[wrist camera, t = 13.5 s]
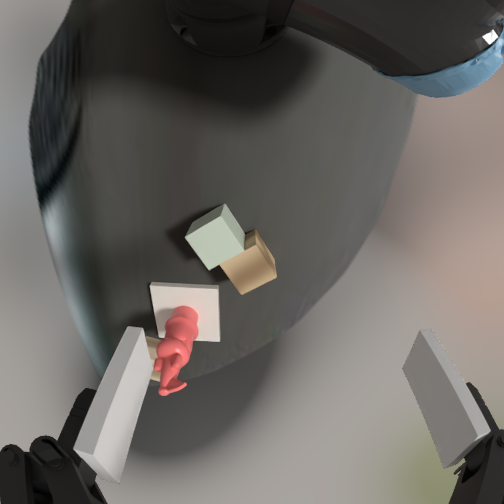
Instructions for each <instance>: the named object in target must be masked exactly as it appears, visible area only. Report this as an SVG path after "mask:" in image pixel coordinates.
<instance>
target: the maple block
mask: <svg viewBox="0 0 504 504" xmlns="http://www.w3.org/2000/svg"><path fill="white" fill-rule="evenodd" d="M145 339H146V343H147V347H148V351H149V355H150V359H151V362H152V366H153V371H152V374H151V377H150V379H153V380H157V381H160V375H161V372H157V371H155V370H154V361H155V359H156V358H158V356H157V353H156V347H157V345H158V343H159V342H160V341H162V340H158V339H155V338H151V337H148V336H146V337H145Z"/></svg>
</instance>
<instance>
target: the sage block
mask: <svg viewBox="0 0 504 504" xmlns="http://www.w3.org/2000/svg"><path fill="white" fill-rule="evenodd" d="M185 238H186V240H187V241H188V242H189V244H190V245H191V247H192V248H193V249H194V251H195V252H196V253H197V255H198V256H199V257H200V259H201V260H202V262H203V263H204V264H205V266H206V267H207V268H208V270H210V269H212V268H214V267H216V266H217V265H219V264H221V263H223V262H225V261H227V260H228V259H230V258H232V257H234V256H236V255H238V254H240V253H241V252H243V251H244V249H245V233H244V232H243V230H242V229H241V227H240V226H239V224H238V223H237V221H236V219H235V218H234V216H233V215H232V213H231V212H230V210H229V209H228V207H227V206H226V204H225V203H224V204H222V205H220V206H219V207H217V208H215V209H214V210H212V211H210V212H209V213H207V214H205V215H204V216H202V217H200V218H199V219H197V220H196V221H194V222H192V224H191V226H190V228H189V230H188V232H187V234H186V236H185Z"/></svg>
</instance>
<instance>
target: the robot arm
mask: <svg viewBox="0 0 504 504" xmlns="http://www.w3.org/2000/svg"><path fill="white" fill-rule="evenodd" d="M165 10H166V16H167V19H168V22H169V24H170V26H171V28H172V29H173V31H174V32H175V33H176V34H177V35H178V36H179V37H180V38H181V39H182V40H183V41H184V42H185V43H186V44H187V45H189V46H190V47H192V48H194V49H196V50H198V51H200V52H203V53H206V54H209V55H214V56H222V57H235V56H243V55H248V54H251V53H254V52H257V51H260V50H262V49H264V48H266V47H268V46H270V45H271V44H273V43H274V42H275V41H277V40H278V39H279V38H280V37H281V36H282V35H283V34H284V33H285V32H286V30H287V29H288V27H291V28H294V29H296V30H299V31H301V32H303V33H306V34H308V35H310V36H313V37H315V38H317V39H319V40H322V41H324V42H326V43H328V44H330V45H332V46H334V47H336V48H338V49H340V50H342V51H344V52H346V53H348V54H350V55H352V56H354V57H355V58H357V59H359V60H361V61H363V62H364V63H366V64H368V65H370V66H371V67H372V69H373V70H374V71H376V72H377V73H379V74H380V75H382V76H384V77H386V78H390V79H393V80H395V81H397V82H399V83H400V84H402V85H404V86H405V87H407V88H408V89H410V90H412V91H413V92H415V93H418V94H422V95H425V96H429V97H435V98H439V97H451V96H455V95H459V94H462V93H464V92H467V91H469V90H471V89H473V88H475V87H477V86H479V85H480V84H482V83H483V82H485V81H486V80H487V79H488V78H490V77H491V76H492V75H493V74H494V73H495V72H496V71H497V70H498V69H499V67H500V66H501V65H502V63H503V62H504V61H503V58H502V56H501V55H502V54H504V0H166V2H165ZM402 369H403V371H404V373H405V375H406V378H407V380H408V382H409V384H410V386H411V389H412V391H413V393H414V395H415V397H416V400H417V402H418V405H419V407H420V409H421V411H422V414H423V416H424V419H425V421H426V424H427V426H428V428H429V431H430V433H431V436H432V438H433V441H434V444H435V446H436V449H437V451H438V454H439V457H440V459H441V462H442V465H443V468H444V469H445V468H448V467H451V466H453V465H456V464H457V463H459V462H460V461H461V460H462V459H463V458H464V459H465V461H466V462H465V463H463V464H462V465H461V466H460V467H459V468H458V469H457V470H456V471H455V472H454V474H457V473H458V472H459V471H460V470H461V472H460V473H459V474H458V476H459V477H458V480H457V483H456V486H455V489H454V492H453V494H452V496H451V499H450V501H449V504H504V430H503V429H501V430H499V428H498V426H497V425H496V423H495V421H494V419H493V417H492V415H491V413H490V411H489V409H488V408H487V406H486V405H485V403H484V401H483V399H482V398H481V395H480V393H479V392H478V390H477V389H476V388H475V387H474V386H473V385H472V384H471V383H470V382H468V383H465V382H464V380H463V378H462V377H461V375H460V373H459V371H458V370H457V368H456V366H455V365H454V363H453V362H452V360H451V358H450V357H449V355H448V354H447V352H446V350H445V349H444V347H443V346H442V344H441V342H440V341H439V339H438V338H437V336H436V335H435V333H434V332H433V330H432V329H423V330H420V331H419V333H418V335H417V338H416V340H415V342H414V344H413V346H412V349H411V351H410V353H409V355H408V357H407V359H406V362H405V364H404V366H403V368H402ZM152 371H153V366H152V362H151V359H150V355H149V351H148V347H147V343H146V339H145V334H144V330H143V328H139V327H130V326H128V327H127V329H126V331H125V333H124V335H123V337H122V339H121V341H120V343H119V345H118V347H117V349H116V351H115V353H114V355H113V357H112V359H111V362H110V364H109V366H108V368H107V370H106V372H105V374H104V377H103V379H102V381H101V384H100V386H99V388H98V390H93V389H89V388H85V389H84V390H83V391H82V392H81V393H80V394H79V395H78V396H77V398H76V401H75V403H74V405H73V408H72V409H71V411H70V415H69V416H68V418H67V420H66V422H65V424H64V427H63V429H62V431H61V433H60V436H59V438H58V441H57V440H55V439H54V438H53V437H50V436H40V437H38V438H36V439H35V440H34V441H33V442H32V443H31V446H30V452H24V451H23V450H22V449H21V448H19V447H18V446H17V445H13V444H10V445H6V446H5V447H3V448H2V450H1V451H0V502H1V504H107V502H106V500H105V498H104V496H103V494H102V492H101V491H100V489H99V487H98V485H97V483H96V482H95V478H96V475H98V476H99V477H100V478H101V479H103V480H106V481H110V482H114V483H117V484H120V480H121V475H122V472H123V468H124V464H125V461H126V457H127V453H128V450H129V446H130V443H131V439H132V436H133V432H134V429H135V425H136V422H137V418H138V415H139V412H140V409H141V406H142V402H143V399H144V396H145V392H146V390H147V386H148V383H149V380H150V377H151V374H152Z"/></svg>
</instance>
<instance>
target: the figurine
mask: <svg viewBox="0 0 504 504" xmlns="http://www.w3.org/2000/svg"><path fill="white" fill-rule="evenodd" d="M197 323H198V314H197V312H196V311H195V310H194V309H193V308H191V307H189V306H179V307H177V308H176V309H175V310H174V312H173V315H172V318H170V319H168V320H167V322H166V323H165V331H166V333H165V337H164V339H163V340H162V341H160V342H159V343H158V345H157V347H156V353H157V356H158V358H156V359H155V361H154V370H155V371H157V372H161V375H160V389H159V394H160V395H162V396H166V395H168V394H169V393H171V392H175V391H178V390H180V389H182V388H184V387H185V386H186V385H187V384H186V383H184V382H181V381H179V380H177V379H176V378H177V376H178V374H179V371H180V368H182V367H183V366H184V365H185V364H186V363H187V362H188V360H189V358H190V353H191V351H192V345H193V341H194V340H195V339H196V338H197V337H198V333H199V330H198V327H197Z"/></svg>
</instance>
